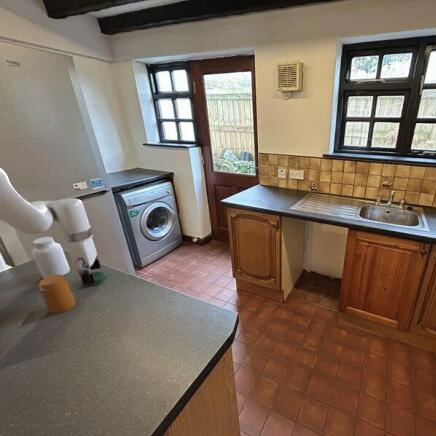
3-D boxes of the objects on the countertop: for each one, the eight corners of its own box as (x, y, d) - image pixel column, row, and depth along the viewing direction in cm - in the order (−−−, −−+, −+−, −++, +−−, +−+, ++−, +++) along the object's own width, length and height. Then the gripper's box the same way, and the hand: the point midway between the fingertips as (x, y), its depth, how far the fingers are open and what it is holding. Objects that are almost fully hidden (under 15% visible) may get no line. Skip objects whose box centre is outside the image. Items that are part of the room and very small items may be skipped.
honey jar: (46, 316, 74) (33, 288, 70) (53, 303, 80) (41, 276, 76) (73, 309, 77) (61, 282, 73) (78, 297, 82) (68, 271, 78)
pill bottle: (51, 282, 89) (36, 246, 84) (37, 277, 92) (21, 242, 86) (75, 270, 96) (62, 236, 91) (61, 266, 99) (48, 233, 93)
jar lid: (106, 281, 91) (105, 277, 90) (83, 288, 86) (82, 284, 86) (104, 273, 95) (103, 269, 94) (82, 280, 91) (81, 275, 90)
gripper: (72, 226, 89) (86, 266, 95) (54, 248, 75) (72, 292, 81) (97, 223, 92) (109, 261, 99) (85, 243, 78) (100, 286, 84)
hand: (92, 275), depth 90 cm, fingers open, 9 cm apart
